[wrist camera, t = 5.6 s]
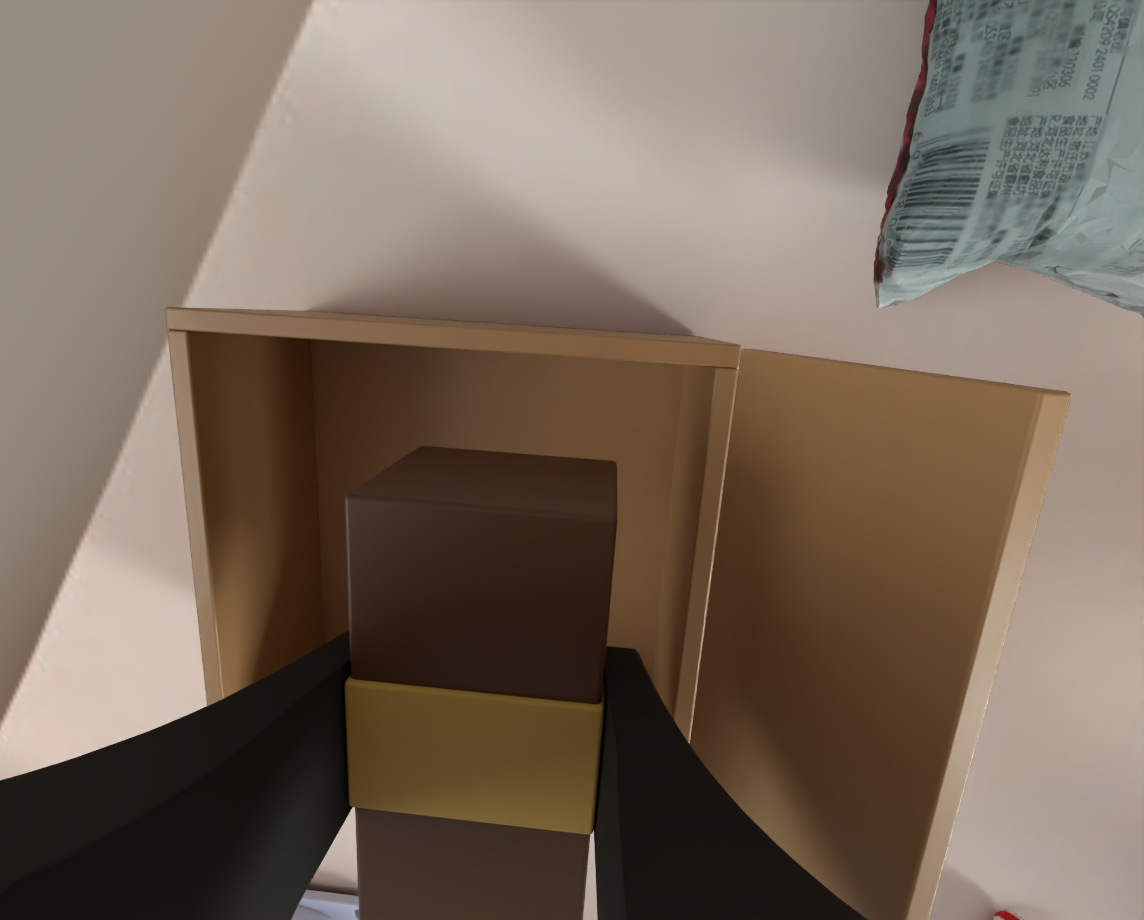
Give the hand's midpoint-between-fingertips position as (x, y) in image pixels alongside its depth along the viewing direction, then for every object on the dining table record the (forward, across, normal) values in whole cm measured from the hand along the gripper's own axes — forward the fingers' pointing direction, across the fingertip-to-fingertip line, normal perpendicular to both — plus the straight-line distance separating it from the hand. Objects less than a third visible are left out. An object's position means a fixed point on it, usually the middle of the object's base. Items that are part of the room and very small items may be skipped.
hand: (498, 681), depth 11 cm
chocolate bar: (+1, 0, 0) cm, 1 cm away
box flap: (-1, -5, 0) cm, 5 cm away
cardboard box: (+9, +2, 0) cm, 9 cm away
